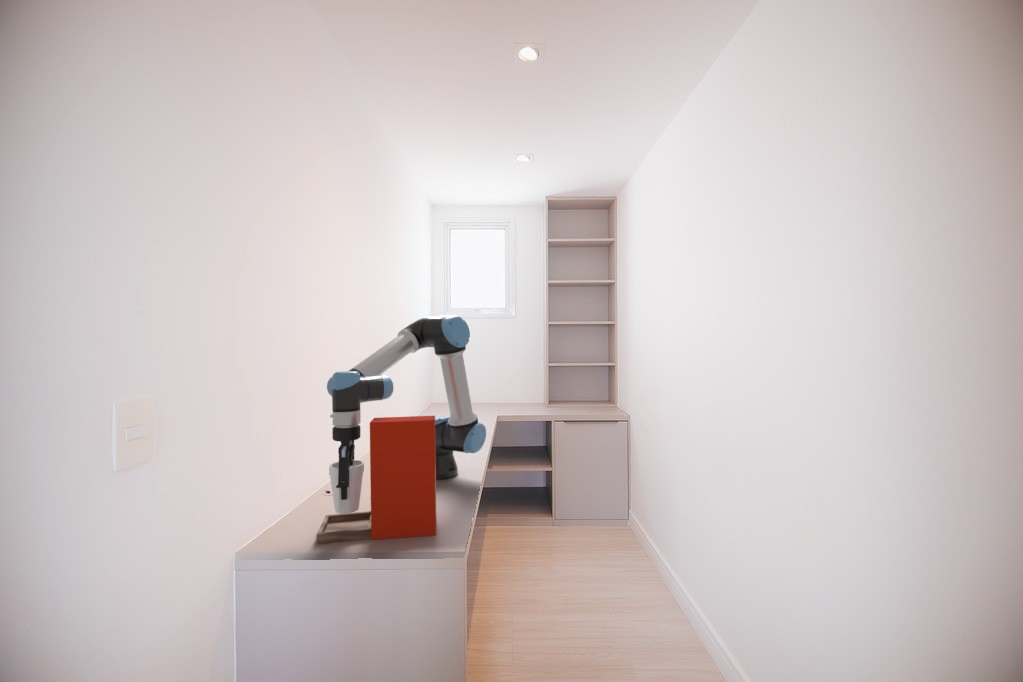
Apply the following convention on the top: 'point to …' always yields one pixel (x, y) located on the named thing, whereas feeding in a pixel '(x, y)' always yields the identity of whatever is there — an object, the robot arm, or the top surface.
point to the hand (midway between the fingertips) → (347, 504)
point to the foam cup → (354, 483)
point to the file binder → (403, 477)
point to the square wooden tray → (345, 527)
